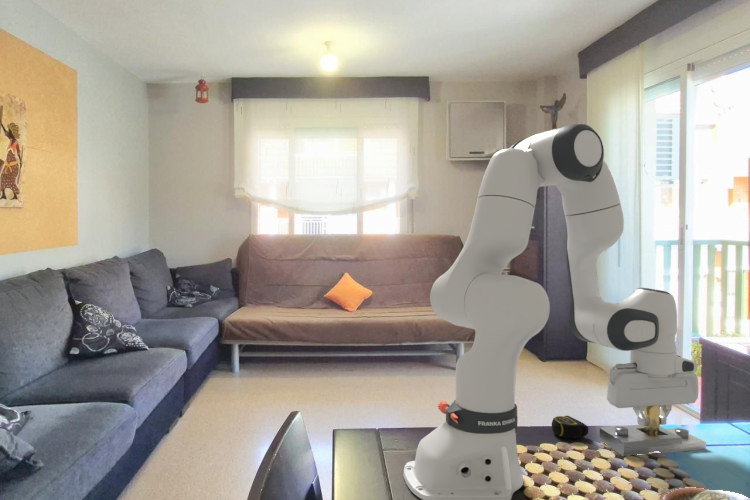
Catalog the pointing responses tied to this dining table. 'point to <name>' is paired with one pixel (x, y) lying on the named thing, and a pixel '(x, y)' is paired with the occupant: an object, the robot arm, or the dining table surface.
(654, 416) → the pin
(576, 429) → the tape measure
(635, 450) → the gray slab
